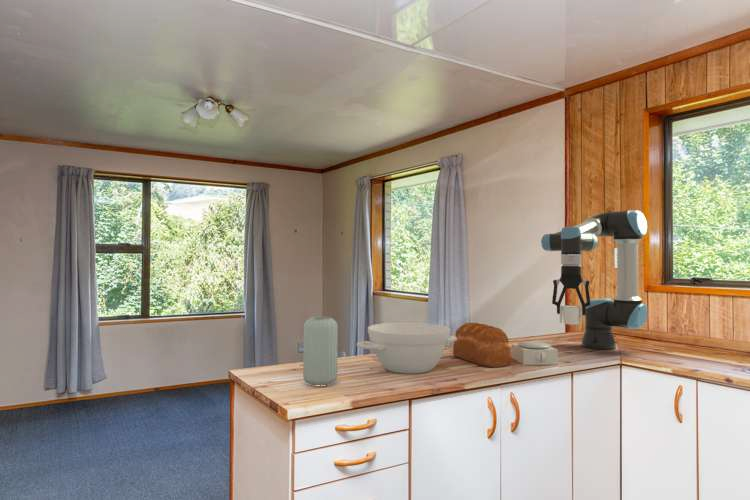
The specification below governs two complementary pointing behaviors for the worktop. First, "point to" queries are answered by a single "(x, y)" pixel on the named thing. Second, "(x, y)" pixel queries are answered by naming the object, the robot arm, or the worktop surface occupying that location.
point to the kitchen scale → (534, 353)
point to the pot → (408, 345)
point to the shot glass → (571, 314)
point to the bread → (482, 345)
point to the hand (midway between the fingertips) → (571, 322)
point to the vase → (320, 350)
